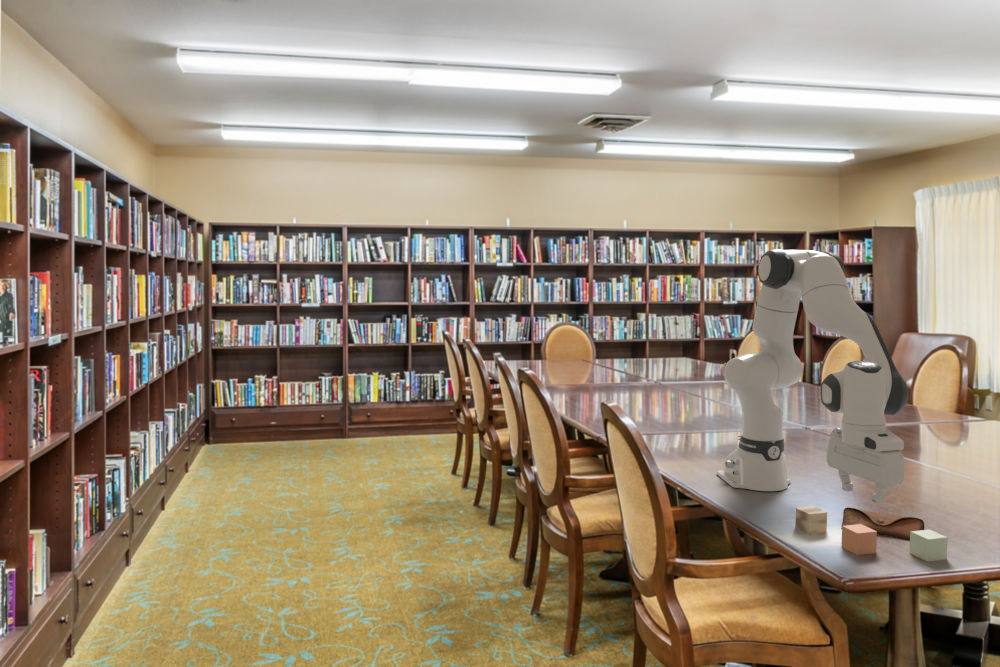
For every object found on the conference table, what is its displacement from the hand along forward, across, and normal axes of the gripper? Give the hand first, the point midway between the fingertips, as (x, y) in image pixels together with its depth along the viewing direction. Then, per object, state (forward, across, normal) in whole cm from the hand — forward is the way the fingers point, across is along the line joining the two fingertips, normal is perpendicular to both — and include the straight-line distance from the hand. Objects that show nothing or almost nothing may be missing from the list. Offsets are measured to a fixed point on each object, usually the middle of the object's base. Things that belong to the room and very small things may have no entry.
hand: (862, 496), depth 165 cm
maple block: (+12, -14, -2) cm, 19 cm away
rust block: (+12, 0, 0) cm, 13 cm away
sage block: (+13, +6, +12) cm, 18 cm away
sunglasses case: (+13, -10, +14) cm, 21 cm away
